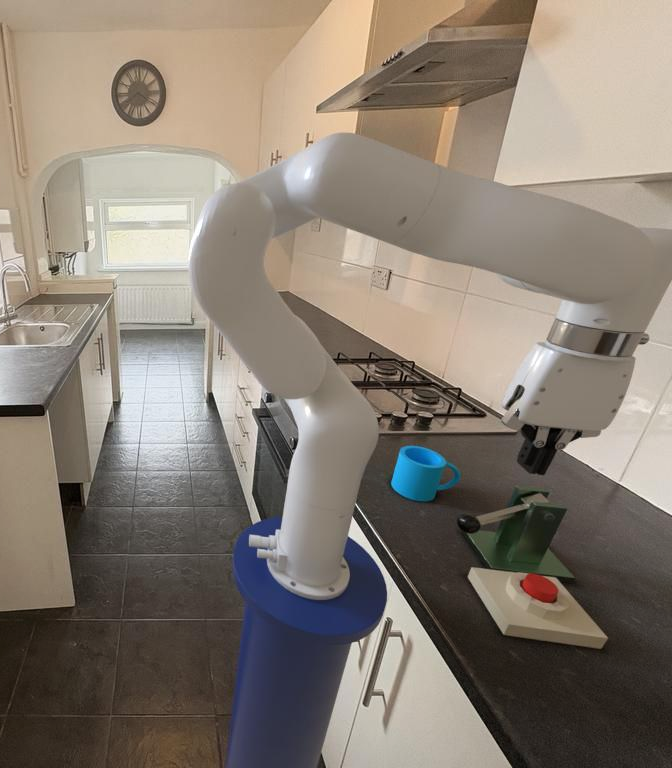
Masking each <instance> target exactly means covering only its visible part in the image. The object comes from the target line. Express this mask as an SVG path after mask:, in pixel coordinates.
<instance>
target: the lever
mask: <svg viewBox="0 0 672 768" xmlns="http://www.w3.org/2000/svg"><path fill="white" fill-rule="evenodd" d="M521 500H522V503H523V504H521V505H518V506H514V507H510V508H507V507H506V508H507V509H506V508H503V509H499V510H495V511H493V512H488V513H484V514H482V515H481V514H480V515H477V516H475V515H474V514H470V513H463V514H460V515H459V516H458V517H457V520H456V525H457V528H458V529H460V530H461V532H462V533H463V532H465V533H469V534H474V533H476V532H478V531H479V530H481V526H484V525H488V524H492V523H495V522H499V521H500V522H501V520H504V519H507V518H511V517H515V516H519V515H523V514H526V513H527V511H528V509H529V506H530V504H531V502H532V501H534V502H544V503H551V501H549V499H548V498H547V499H546V498H545V497H544V496H543V495H542V494H541V493H539V494H535V495H531V496H528V497H524V498H521Z"/></svg>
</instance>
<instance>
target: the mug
mask: <svg viewBox="0 0 672 768" xmlns="http://www.w3.org/2000/svg"><path fill="white" fill-rule="evenodd" d="M445 467H447V468H450V469H451V470H452V471H453V473H454V474H453V477H452V479H451V480H449V481H448V482H446V483H444V484H440V483H441V479H442V477H443V473H444V471H445V470H444V469H445ZM460 479H461V472H460V470H459V468H458V467H457V466H456V465H454V464H453V463H451V462H449V461H447V460H446V459H445V458H444V457H443V456H442V454H440V453H439V452H437V451H435V450H433V449H430V448H427V447H423V446H417V445H406V446H403V447H400V450H399V453H398V457H397V461H396V464H395V468H394V471H393V475H392V479H391V482H390V484H391V487H392V488H393V490H394V491H395V492H397V493H398V494H399V495H401V496H402V497H404V498H407V499H409V500H412V501H416V502H417V501H418V502H429V501H432V500H434V499H435V497H436V494H437V492H438V491H444V490H448V489H450V488H453V487H454V486H455V485H457V484H458V483H459V481H460Z"/></svg>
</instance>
